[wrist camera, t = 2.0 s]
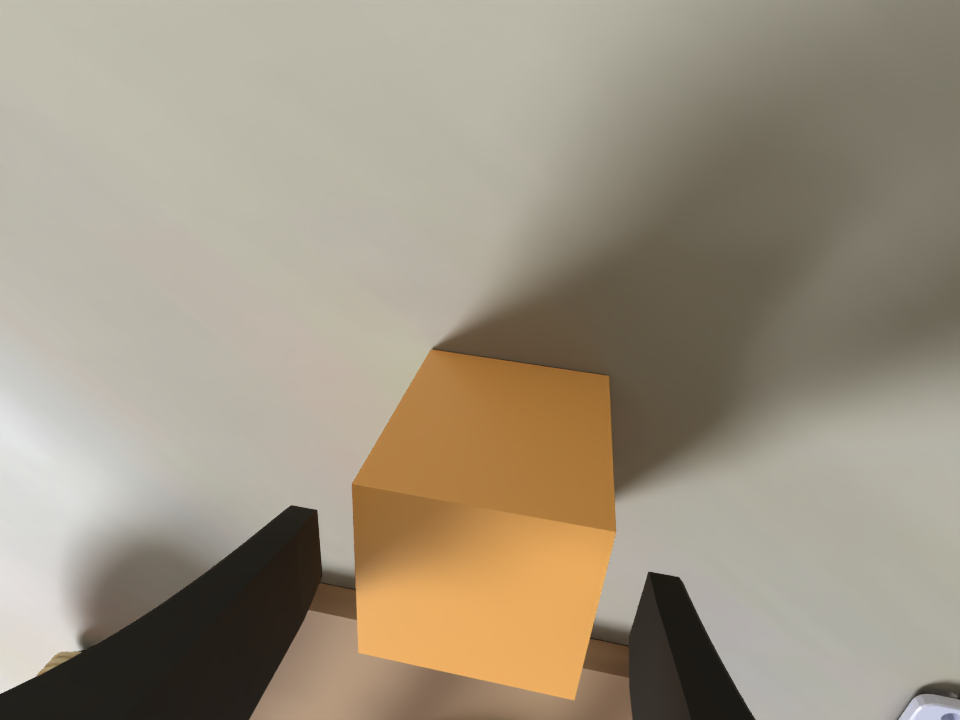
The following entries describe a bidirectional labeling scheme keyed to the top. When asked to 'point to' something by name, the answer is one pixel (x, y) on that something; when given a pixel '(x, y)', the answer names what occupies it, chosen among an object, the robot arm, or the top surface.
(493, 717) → the post board
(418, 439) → the orange wooden cube
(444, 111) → the top surface
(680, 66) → the top surface
